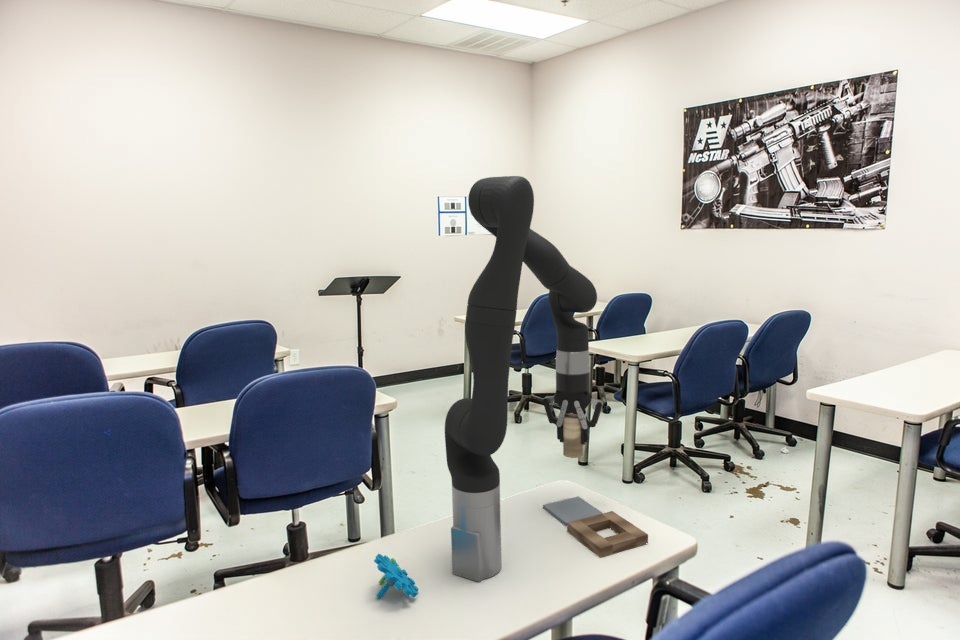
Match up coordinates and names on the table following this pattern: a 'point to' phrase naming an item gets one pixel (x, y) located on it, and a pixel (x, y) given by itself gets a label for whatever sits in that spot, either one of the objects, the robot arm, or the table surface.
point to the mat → (571, 510)
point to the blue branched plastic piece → (394, 577)
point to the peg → (572, 436)
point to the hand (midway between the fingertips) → (573, 442)
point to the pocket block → (601, 546)
